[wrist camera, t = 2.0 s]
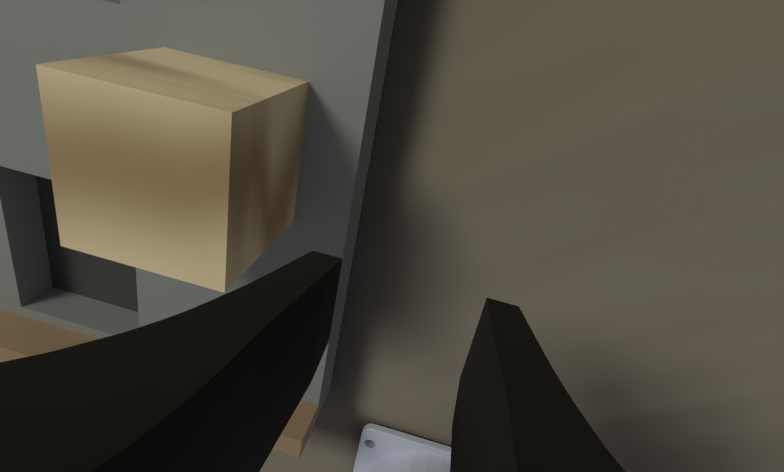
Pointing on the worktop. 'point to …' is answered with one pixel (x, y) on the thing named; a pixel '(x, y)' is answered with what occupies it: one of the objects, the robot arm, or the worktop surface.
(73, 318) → the trap board
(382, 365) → the worktop surface
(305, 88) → the block
